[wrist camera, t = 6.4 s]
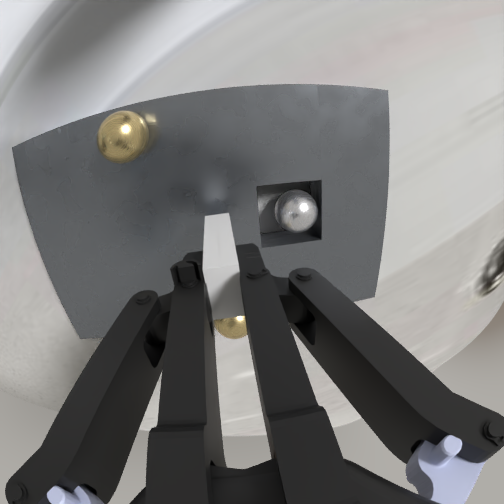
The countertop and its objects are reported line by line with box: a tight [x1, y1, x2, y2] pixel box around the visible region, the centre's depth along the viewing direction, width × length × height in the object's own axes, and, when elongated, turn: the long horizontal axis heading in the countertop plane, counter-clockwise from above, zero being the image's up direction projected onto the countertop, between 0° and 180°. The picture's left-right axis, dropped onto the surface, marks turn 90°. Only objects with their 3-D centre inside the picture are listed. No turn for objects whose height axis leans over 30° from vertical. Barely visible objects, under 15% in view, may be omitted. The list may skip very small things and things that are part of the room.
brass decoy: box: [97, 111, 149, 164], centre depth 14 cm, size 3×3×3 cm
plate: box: [12, 84, 389, 339], centre depth 20 cm, size 28×18×2 cm, turn 95°
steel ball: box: [274, 190, 318, 233], centre depth 21 cm, size 3×3×3 cm
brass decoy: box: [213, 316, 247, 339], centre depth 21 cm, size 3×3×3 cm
